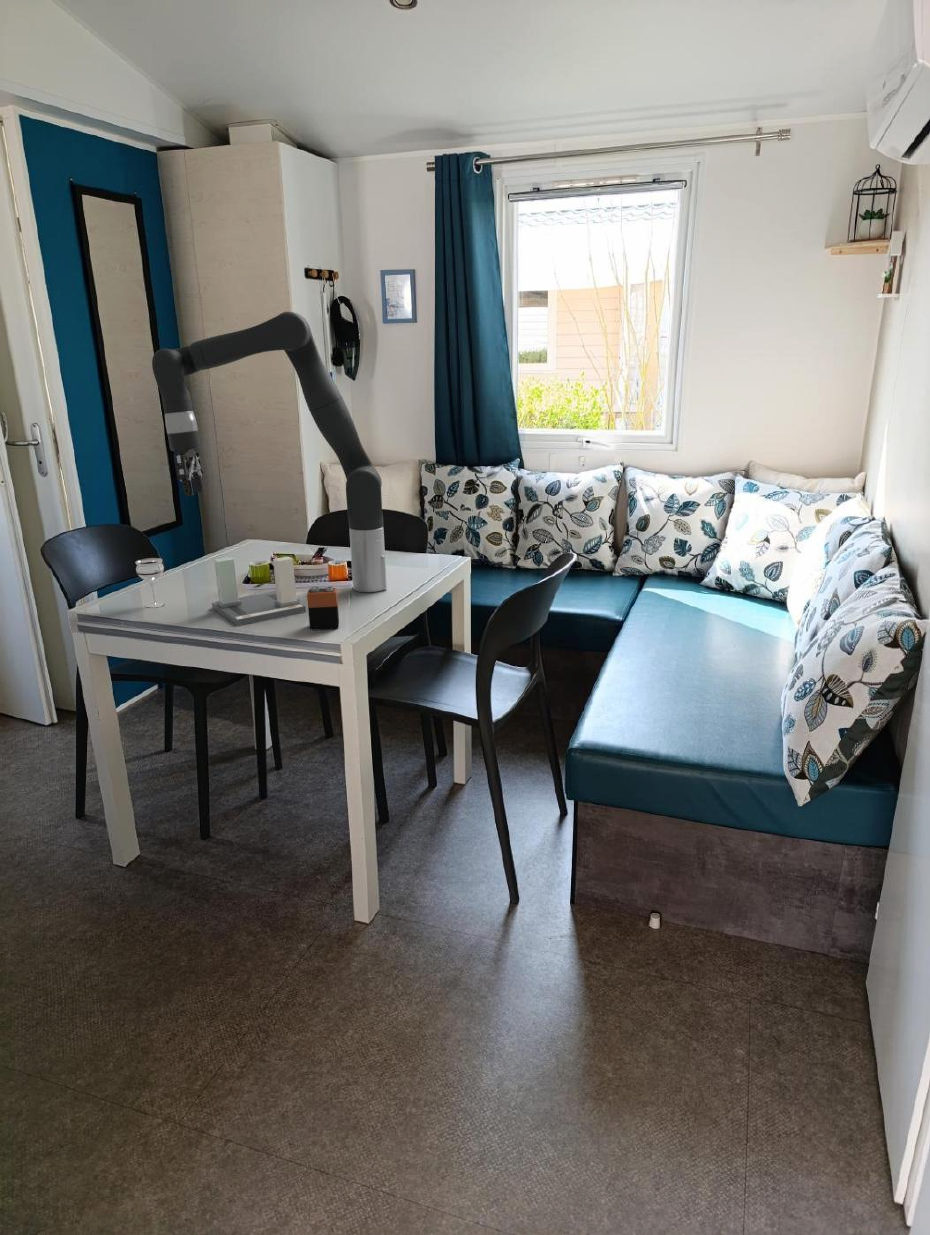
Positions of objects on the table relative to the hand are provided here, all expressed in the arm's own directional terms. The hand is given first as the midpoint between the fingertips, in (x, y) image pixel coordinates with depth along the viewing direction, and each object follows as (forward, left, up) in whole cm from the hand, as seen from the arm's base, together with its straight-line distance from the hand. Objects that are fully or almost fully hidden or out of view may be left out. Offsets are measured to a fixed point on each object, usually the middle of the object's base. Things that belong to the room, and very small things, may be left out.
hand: (194, 493), depth 214 cm
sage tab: (-9, +14, -26) cm, 31 cm away
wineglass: (+12, +7, -28) cm, 31 cm away
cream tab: (-24, +16, -26) cm, 39 cm away
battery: (-34, +31, -28) cm, 54 cm away
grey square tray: (-16, +15, -28) cm, 35 cm away
